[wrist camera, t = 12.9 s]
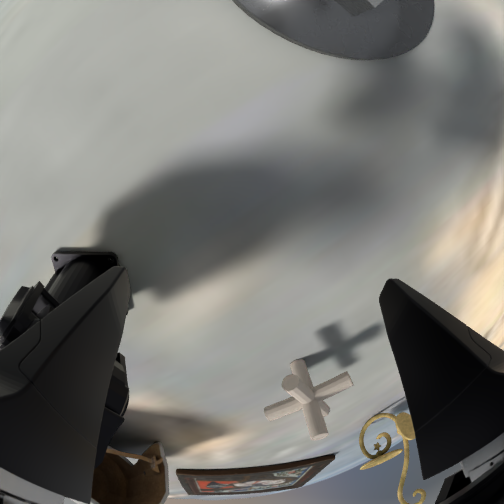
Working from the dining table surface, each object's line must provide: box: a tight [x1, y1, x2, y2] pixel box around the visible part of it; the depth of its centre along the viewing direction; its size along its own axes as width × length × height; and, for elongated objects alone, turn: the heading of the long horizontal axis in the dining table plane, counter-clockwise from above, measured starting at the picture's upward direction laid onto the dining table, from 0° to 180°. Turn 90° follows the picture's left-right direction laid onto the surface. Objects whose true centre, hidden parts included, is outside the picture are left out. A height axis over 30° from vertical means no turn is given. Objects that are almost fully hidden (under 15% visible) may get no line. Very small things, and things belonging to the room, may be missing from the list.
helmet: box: [71, 443, 169, 504], centre depth 32 cm, size 19×18×30 cm
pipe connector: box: [264, 359, 353, 440], centre depth 27 cm, size 10×10×10 cm
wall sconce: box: [359, 412, 426, 504], centre depth 36 cm, size 14×10×25 cm
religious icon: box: [176, 455, 335, 495], centre depth 65 cm, size 40×45×3 cm
